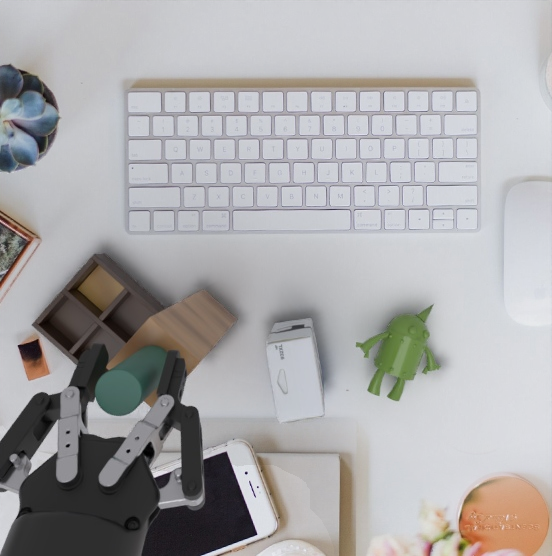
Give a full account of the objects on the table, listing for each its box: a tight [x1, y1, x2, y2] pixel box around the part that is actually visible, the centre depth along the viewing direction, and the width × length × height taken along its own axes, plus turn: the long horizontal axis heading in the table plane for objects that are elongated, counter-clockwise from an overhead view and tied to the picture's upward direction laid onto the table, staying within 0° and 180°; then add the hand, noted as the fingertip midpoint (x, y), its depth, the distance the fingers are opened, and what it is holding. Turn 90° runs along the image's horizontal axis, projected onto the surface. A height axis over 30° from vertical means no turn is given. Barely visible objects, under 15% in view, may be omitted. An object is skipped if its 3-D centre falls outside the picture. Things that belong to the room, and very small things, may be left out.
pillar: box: [106, 288, 238, 409], centre depth 57 cm, size 6×6×22 cm
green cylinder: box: [95, 345, 167, 417], centre depth 42 cm, size 3×3×8 cm
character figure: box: [355, 303, 441, 402], centre depth 65 cm, size 12×5×12 cm
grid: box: [31, 252, 167, 373], centre depth 67 cm, size 11×11×3 cm
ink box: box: [265, 317, 326, 425], centre depth 62 cm, size 8×5×12 cm, turn 9°
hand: (138, 353), depth 42 cm, fingers open, 5 cm apart
